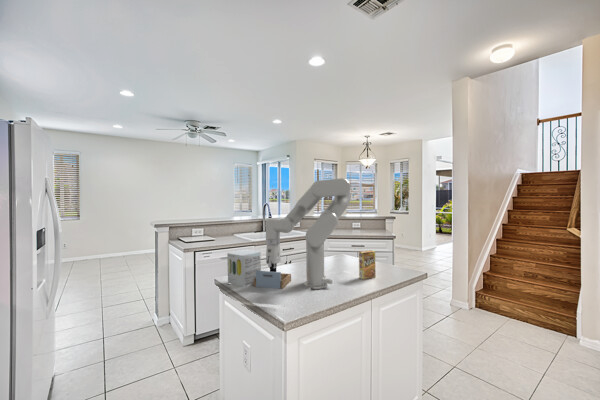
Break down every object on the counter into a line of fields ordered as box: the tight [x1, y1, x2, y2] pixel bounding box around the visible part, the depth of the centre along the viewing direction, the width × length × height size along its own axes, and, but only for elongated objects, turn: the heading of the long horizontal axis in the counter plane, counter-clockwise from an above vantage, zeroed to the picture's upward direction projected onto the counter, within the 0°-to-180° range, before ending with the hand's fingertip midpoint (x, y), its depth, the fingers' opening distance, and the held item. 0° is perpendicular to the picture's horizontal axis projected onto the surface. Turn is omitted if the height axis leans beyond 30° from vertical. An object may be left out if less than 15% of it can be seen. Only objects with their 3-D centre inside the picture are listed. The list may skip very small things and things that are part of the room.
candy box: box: [358, 250, 377, 280], centre depth 161 cm, size 9×4×15 cm, turn 113°
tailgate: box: [256, 270, 282, 290], centre depth 143 cm, size 13×2×8 cm, turn 74°
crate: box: [253, 272, 292, 290], centre depth 149 cm, size 16×14×5 cm
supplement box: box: [226, 248, 262, 288], centre depth 153 cm, size 13×13×18 cm
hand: (273, 275), depth 150 cm, fingers closed
